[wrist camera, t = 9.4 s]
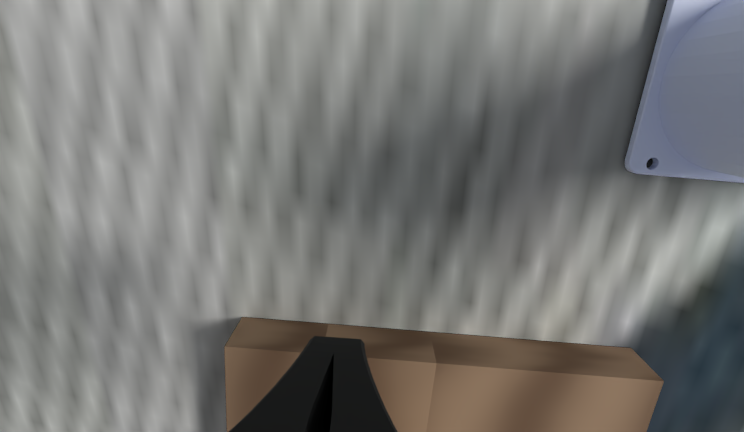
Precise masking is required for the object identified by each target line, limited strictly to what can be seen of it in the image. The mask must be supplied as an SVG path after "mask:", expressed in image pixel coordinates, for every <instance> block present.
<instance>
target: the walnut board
mask: <svg viewBox="0 0 744 432" xmlns="http://www.w3.org/2000/svg"><path fill="white" fill-rule="evenodd" d="M314 336H324V337H338V338H352V339H361V340H362V341H363V342H364V343H365V352H366V357H367V361H368V364H369V367H370V371H371V374H372V377H373V379H374V382H375V384H376V387H377V389H378V392H379V394H380V397H381V399H382V401H383V403H384V406H385V408H386V410H387V412H388V414H389V416H390V418H391V420H392V422H393V424H394V426H395V428H396V430H397V432H646V431H647V428H648V425H649V422H650V419H651V417H652V414H653V411H654V408H655V405H656V402H657V400H658V397H659V394H660V391H661V388H662V385H663V382H664V381H663V380H662V379H661V378H660V377H659V376H658V375H657V374H656V373H655V372H654V371H653V370H652V369H651V368H650V367H649V366H648V365H647V364H646V363H645V362H644V361H643V360H642V359H641V358H640V357H639V356H638V355H637V354H636V353H635V352H634V351H633V350H632V349H631V348H624V347H611V346H599V345H586V344H574V343H561V342H549V341H536V340H524V339H511V338H499V337H486V336H473V335H461V334H448V333H436V332H423V331H411V330H398V329H386V328H373V327H360V326H348V325H335V324H323V323H310V322H298V321H285V320H273V319H260V318H248V317H242V318H241V320H240V322H239V323H238V325H237V326H236V328H235V330H234V331H233V333H232V335H231V336H230V338H229V340H228V341H227V343H226V345H225V346H224V351H225V386H226V421H227V432H229V431H230V430H231V429H232V428H233V427H234V426H235V425H236V424H238V423H239V422H240V421H241V420H242V419H243V418H244V417H245V416H246V415H247V414H248V413H249V412H250V411H251V410H252V409H253V408H254V407H255V406H256V405H257V404H258V403H259V402H260V401H261V400H262V399H263V398H264V396H265V395H266V394H267V393H268V392H269V391H270V390H271V389H272V388H273V387H274V386H275V385H276V383H277V382H278V381H279V380H280V379H281V377H282V376H283V375H284V374H285V373H286V371H287V370H288V369H289V368H290V367H291V365H292V364H293V363H294V362H295V360H296V359H297V358H298V356H299V355H300V354H301V352H302V351H303V349H304V348H305V347H306V345H307V344H308V342H309V340H310V339H311V338H313V337H314Z"/></svg>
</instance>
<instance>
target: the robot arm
mask: <svg viewBox="0 0 744 432" xmlns="http://www.w3.org/2000/svg"><path fill="white" fill-rule="evenodd" d="M650 158H652V159H653V163H652V165H651V166H650V167H649V168H647V167H646V163H647V161H648V160H649V159H650ZM625 167H626V169H627V170H628V171H629V172H632V173H636V174H643V175H655V176H667V177H679V178H691V179H703V180H715V181H727V182H738V183H744V0H667V4H666V8H665V11H664V15H663V19H662V23H661V27H660V30H659V34H658V38H657V42H656V45H655V49H654V53H653V57H652V60H651V64H650V68H649V72H648V75H647V79H646V83H645V87H644V90H643V94H642V98H641V102H640V106H639V109H638V113H637V117H636V121H635V124H634V128H633V132H632V136H631V139H630V143H629V147H628V151H627V154H626V158H625ZM229 432H397V430H396V428H395V426H394V424H393V422H392V420H391V418H390V416H389V414H388V412H387V410H386V408H385V406H384V403H383V401H382V399H381V397H380V394H379V392H378V389H377V387H376V384H375V382H374V379H373V377H372V374H371V371H370V367H369V364H368V361H367V357H366V352H365V343H364V342H363V341H362V340H361V339H352V338H338V337H324V336H314V337H313V338H311V339H310V340H309V342H308V344H307V345H306V347H305V348H304V349H303V351H302V352H301V354H300V355H299V356H298V358H297V359H296V360H295V362H294V363H293V364H292V365H291V367H290V368H289V369H288V370H287V371H286V373H285V374H284V375H283V376H282V377H281V379H280V380H279V381H278V382H277V383H276V385H275V386H274V387H273V388H272V389H271V390H270V391H269V392H268V393H267V394H266V395H265V396H264V398H263V399H262V400H261V401H260V402H259V403H258V404H257V405H256V406H255V407H254V408H253V409H252V410H251V411H250V412H249V413H248V414H247V415H246V416H245V417H244V418H243V419H242V420H241V421H240V422H239V423H238V424H236V425H235V426H234V427H233V428H232V429H231V430H230V431H229Z"/></svg>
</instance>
